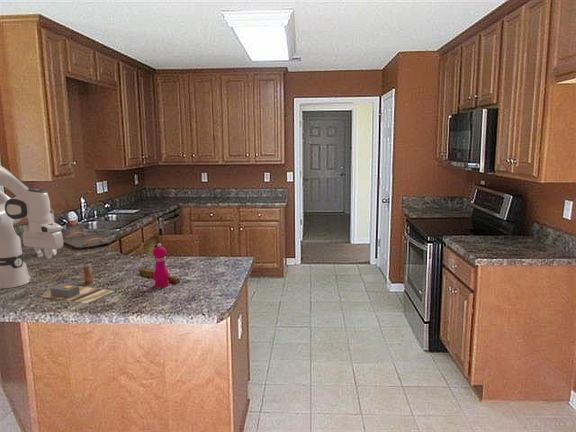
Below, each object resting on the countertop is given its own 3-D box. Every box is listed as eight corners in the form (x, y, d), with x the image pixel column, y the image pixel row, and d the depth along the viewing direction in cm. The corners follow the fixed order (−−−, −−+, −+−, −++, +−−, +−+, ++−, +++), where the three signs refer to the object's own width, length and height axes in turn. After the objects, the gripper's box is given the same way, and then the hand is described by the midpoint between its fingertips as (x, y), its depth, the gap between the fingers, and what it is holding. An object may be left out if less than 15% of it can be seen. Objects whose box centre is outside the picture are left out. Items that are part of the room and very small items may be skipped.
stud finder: (51, 295, 190) (50, 287, 190) (62, 291, 196) (61, 283, 195) (68, 298, 186) (67, 289, 186) (79, 293, 192) (78, 285, 191)
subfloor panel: (40, 299, 190) (40, 296, 190) (71, 287, 205) (70, 285, 204) (86, 306, 180) (86, 303, 180) (115, 293, 195) (114, 290, 195)
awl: (83, 286, 206) (80, 259, 204) (89, 284, 209) (86, 257, 207) (89, 287, 205) (86, 260, 203) (94, 284, 208) (92, 258, 206)
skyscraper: (60, 253, 272) (55, 208, 268) (57, 256, 265) (52, 210, 260) (44, 254, 270) (39, 209, 265) (42, 257, 262) (36, 211, 257)
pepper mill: (156, 283, 209) (153, 241, 205) (171, 282, 208) (169, 241, 205) (151, 288, 202) (148, 245, 198) (167, 287, 201) (164, 245, 198)
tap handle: (174, 278, 206) (137, 268, 224) (175, 285, 206) (137, 274, 225) (180, 277, 208) (142, 267, 226) (180, 283, 209) (143, 272, 227)
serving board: (57, 243, 301) (56, 234, 300) (91, 237, 317) (90, 229, 316) (78, 252, 274) (77, 242, 273) (114, 245, 290) (114, 236, 289)
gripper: (17, 226, 191) (21, 257, 193) (51, 229, 183) (55, 261, 186) (30, 223, 196) (33, 253, 199) (64, 226, 189) (67, 257, 191)
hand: (44, 257), depth 192 cm, fingers open, 3 cm apart
